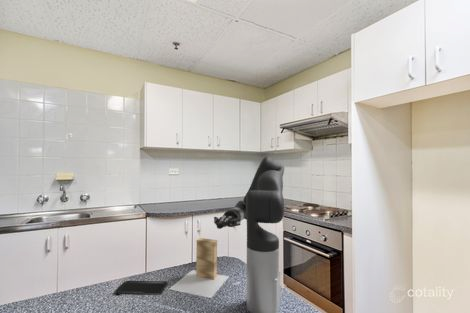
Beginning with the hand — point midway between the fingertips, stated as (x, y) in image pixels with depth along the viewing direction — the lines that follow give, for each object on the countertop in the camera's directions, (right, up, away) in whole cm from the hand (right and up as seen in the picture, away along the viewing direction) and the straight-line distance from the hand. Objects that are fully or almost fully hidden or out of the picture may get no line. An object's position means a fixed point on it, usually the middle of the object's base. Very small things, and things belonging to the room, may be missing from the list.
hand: (218, 226), depth 98 cm
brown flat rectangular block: (-4, -15, -11) cm, 19 cm away
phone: (-24, -16, -19) cm, 34 cm away
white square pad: (-5, -15, -15) cm, 22 cm away
